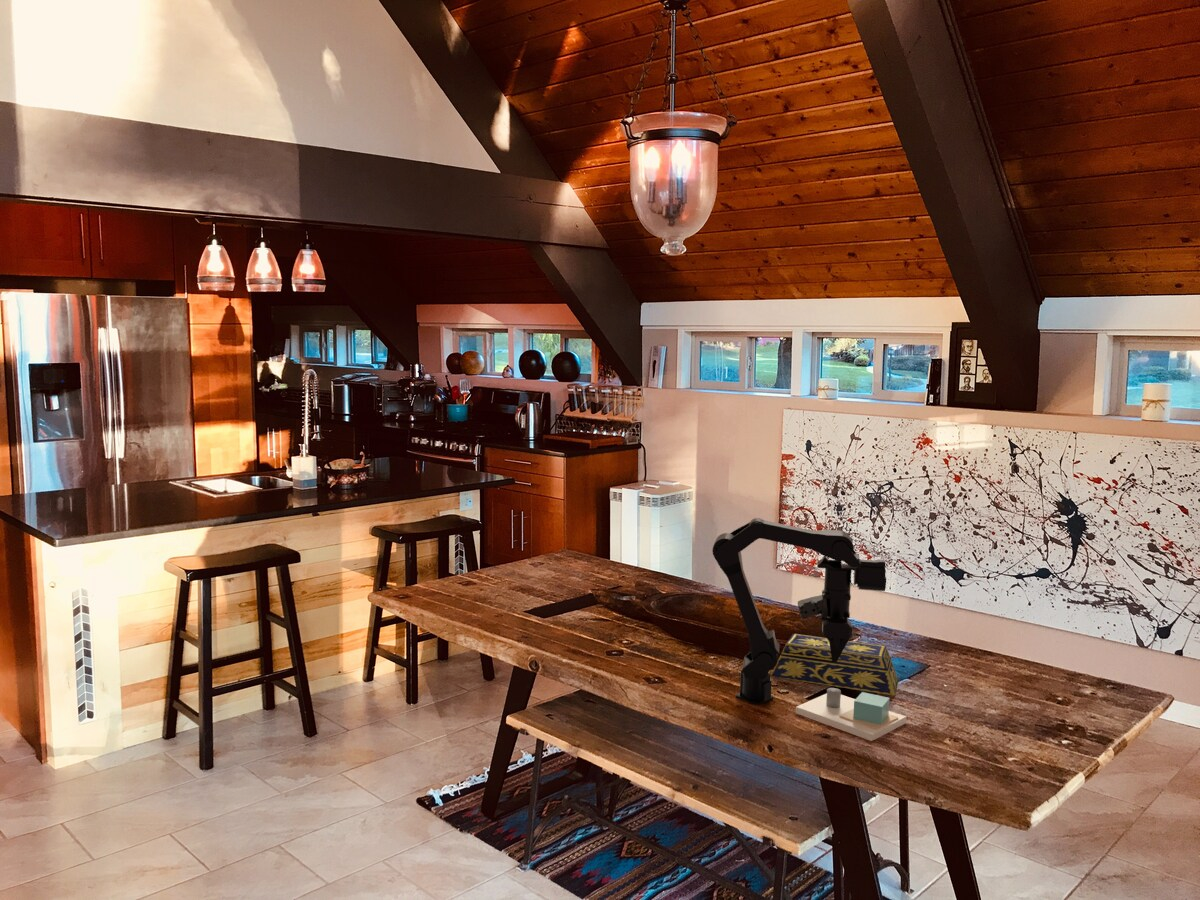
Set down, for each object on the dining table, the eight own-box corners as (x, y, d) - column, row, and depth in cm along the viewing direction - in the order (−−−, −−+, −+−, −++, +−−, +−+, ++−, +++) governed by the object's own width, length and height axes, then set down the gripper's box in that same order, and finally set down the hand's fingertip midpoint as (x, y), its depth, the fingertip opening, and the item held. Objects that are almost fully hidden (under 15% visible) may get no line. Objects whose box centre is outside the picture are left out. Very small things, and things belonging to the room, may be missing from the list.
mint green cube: (861, 709, 211) (862, 692, 210) (888, 715, 208) (889, 697, 207) (853, 718, 206) (854, 700, 205) (881, 724, 203) (882, 707, 202)
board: (795, 713, 213) (796, 691, 212) (831, 697, 222) (832, 676, 222) (871, 741, 199) (873, 718, 198) (905, 723, 209) (907, 701, 208)
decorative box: (896, 697, 224) (898, 660, 223) (769, 677, 235) (770, 642, 234) (899, 681, 234) (901, 646, 233) (777, 663, 245) (779, 630, 244)
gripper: (800, 574, 225) (797, 638, 227) (801, 596, 207) (797, 665, 209) (849, 578, 223) (845, 642, 225) (854, 600, 204) (850, 670, 206)
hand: (833, 654), depth 216 cm, fingers open, 9 cm apart
